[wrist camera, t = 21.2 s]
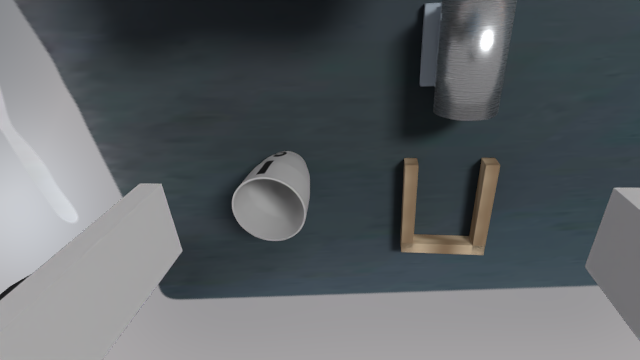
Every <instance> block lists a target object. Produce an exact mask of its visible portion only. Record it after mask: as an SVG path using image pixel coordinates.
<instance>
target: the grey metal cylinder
mask: <svg viewBox="0 0 640 360" xmlns="http://www.w3.org/2000/svg"><path fill="white" fill-rule="evenodd" d="M516 3H517V0H442V9H441V21H440V33H439V45H438V57H437V69H436V81H435V93H434V105H433V112H434V113H435V114H436V115H438V116H441V117H444V118H448V119H453V120H462V121H477V120H485V119H489V118H492V117H495V116H496V115H497V114H498V109H499V103H500V97H501V91H502V85H503V79H504V74H505V68H506V62H507V56H508V50H509V44H510V39H511V33H512V27H513V21H514V15H515V9H516Z"/></svg>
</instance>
